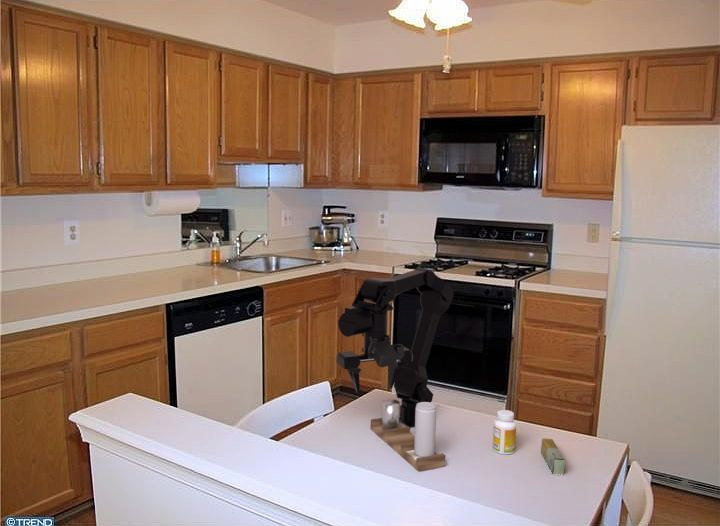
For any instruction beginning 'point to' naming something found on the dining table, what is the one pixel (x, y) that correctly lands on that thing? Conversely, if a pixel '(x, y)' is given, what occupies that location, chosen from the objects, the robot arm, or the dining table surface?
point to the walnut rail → (407, 446)
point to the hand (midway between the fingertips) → (374, 390)
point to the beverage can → (425, 429)
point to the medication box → (552, 456)
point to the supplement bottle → (504, 433)
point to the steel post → (390, 414)
